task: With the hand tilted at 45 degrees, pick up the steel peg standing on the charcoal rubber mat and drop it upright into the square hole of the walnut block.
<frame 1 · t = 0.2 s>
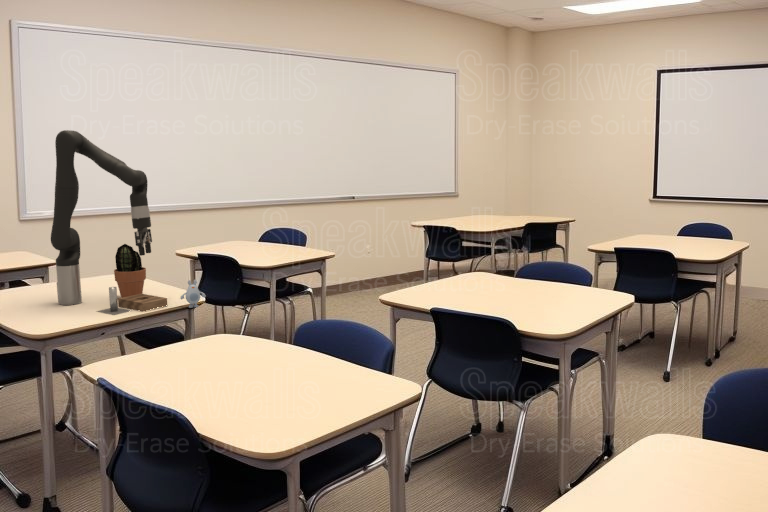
hand: (145, 254, 297), 22 cm above the table, tool pointing down, fingers open, 8 cm apart
rubber mat: (114, 312, 286), on the table
potted plant: (131, 297, 314), on the table
metal peg: (114, 311, 286), resting on rubber mat
toy figure: (193, 307, 295), on the table
hole block: (143, 307, 294), on the table
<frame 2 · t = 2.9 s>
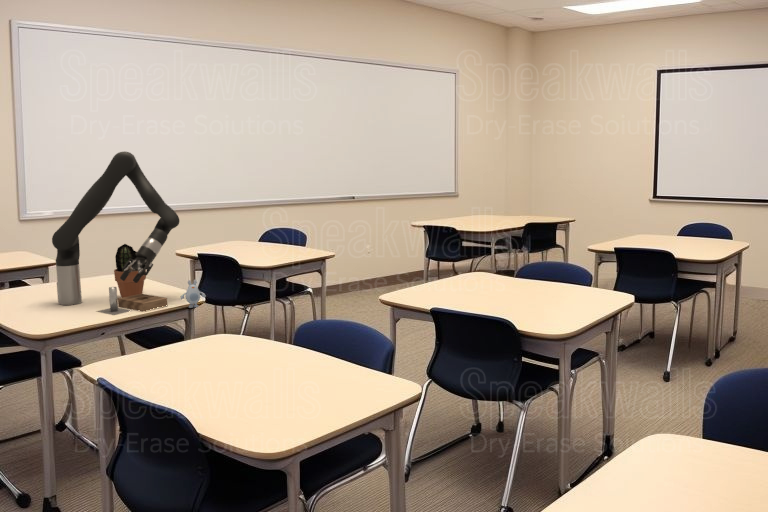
hand: (128, 280, 291), 12 cm above the table, tool tilted 45°, fingers open, 8 cm apart
nothing on the table moved.
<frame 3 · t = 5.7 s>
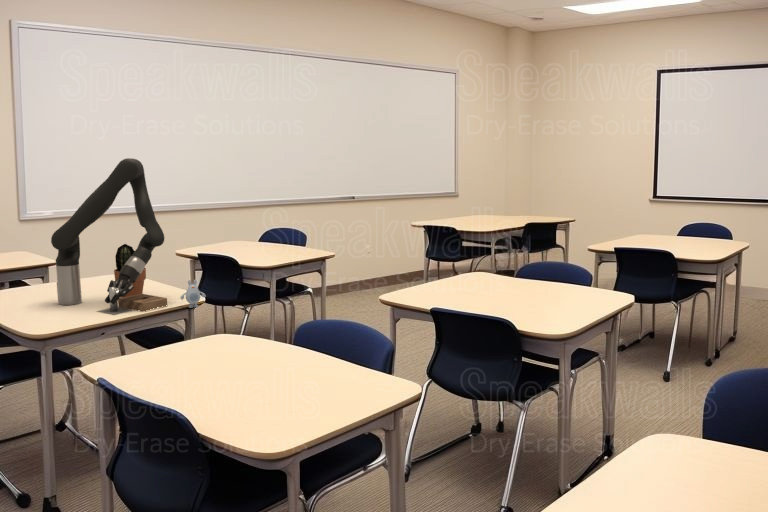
hand: (109, 302, 284), 4 cm above the table, tool tilted 45°, fingers closed on metal peg, 3 cm apart
metal peg: (114, 311, 286), point 1 cm above the table, touching gripper, rubber mat
everything else where it was.
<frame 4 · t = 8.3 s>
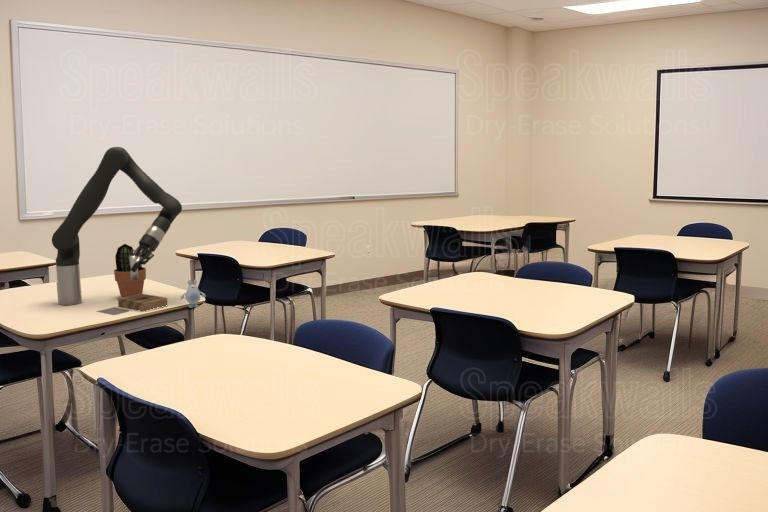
hand: (130, 270, 288), 17 cm above the table, tool tilted 45°, fingers closed on metal peg, 3 cm apart
metal peg: (134, 279, 290), point 13 cm above the table, touching gripper
everything else where it was.
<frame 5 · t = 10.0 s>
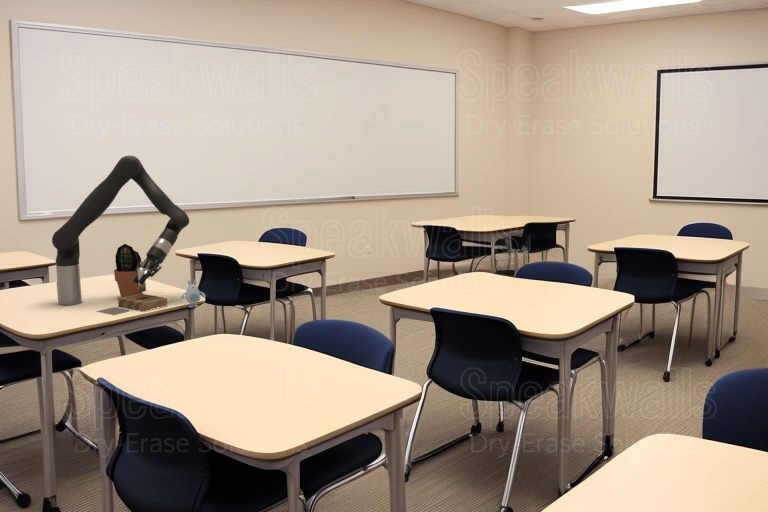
hand: (137, 282, 291), 11 cm above the table, tool tilted 45°, fingers closed on metal peg, 3 cm apart
metal peg: (142, 290, 293), point 7 cm above the table, touching gripper
everything else where it was.
when the fingers open (7 cm above the table, at t = 11.2 s): metal peg drops 3 cm, resting in hole block.
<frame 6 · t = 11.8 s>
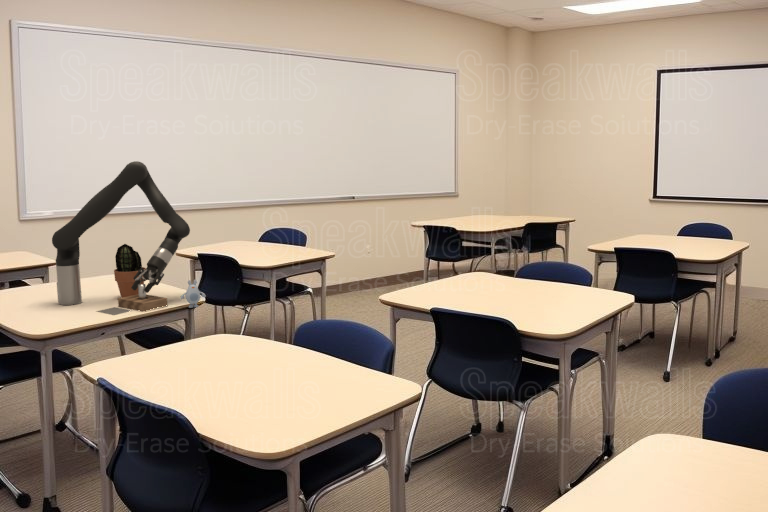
hand: (139, 290, 292), 8 cm above the table, tool tilted 45°, fingers open, 8 cm apart
metal peg: (143, 307, 294), resting in hole block
everything else where it was.
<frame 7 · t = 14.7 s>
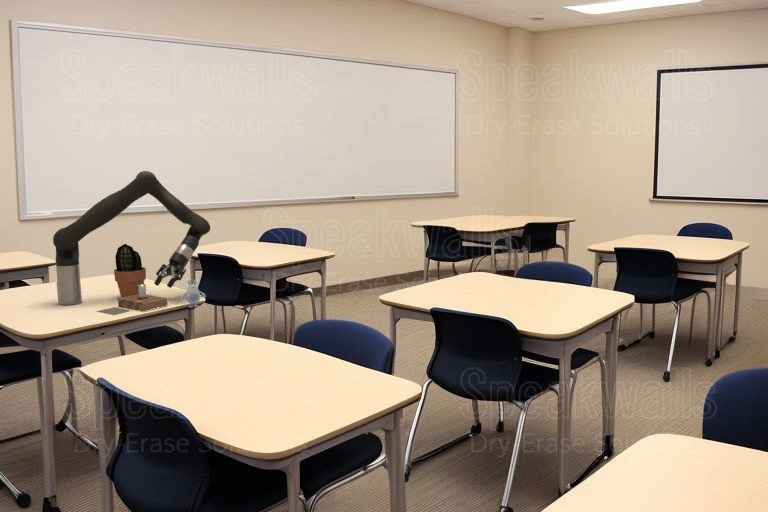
hand: (162, 285, 302), 8 cm above the table, tool tilted 45°, fingers open, 8 cm apart
nothing on the table moved.
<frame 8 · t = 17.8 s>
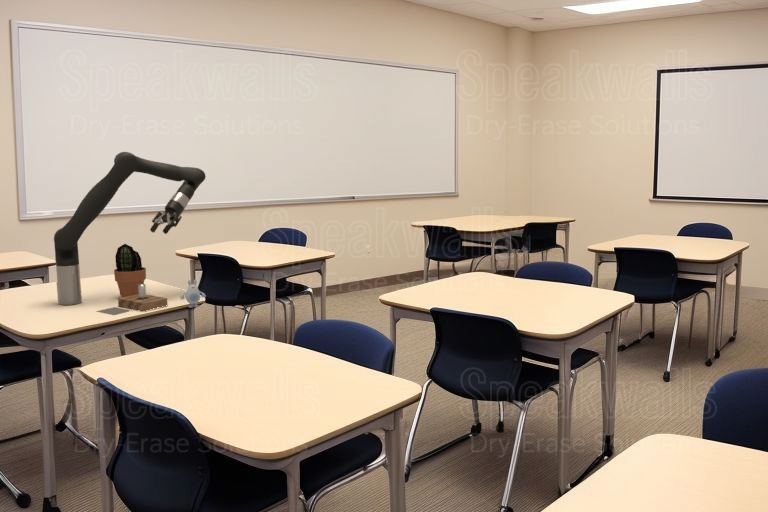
hand: (158, 232, 305), 31 cm above the table, tool tilted 45°, fingers open, 8 cm apart
nothing on the table moved.
at the end: metal peg 0.1 cm off-centre on the hole block, point 0.0 cm above the hole block's base; metal peg tilted 0°; the gripper is holding nothing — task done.
